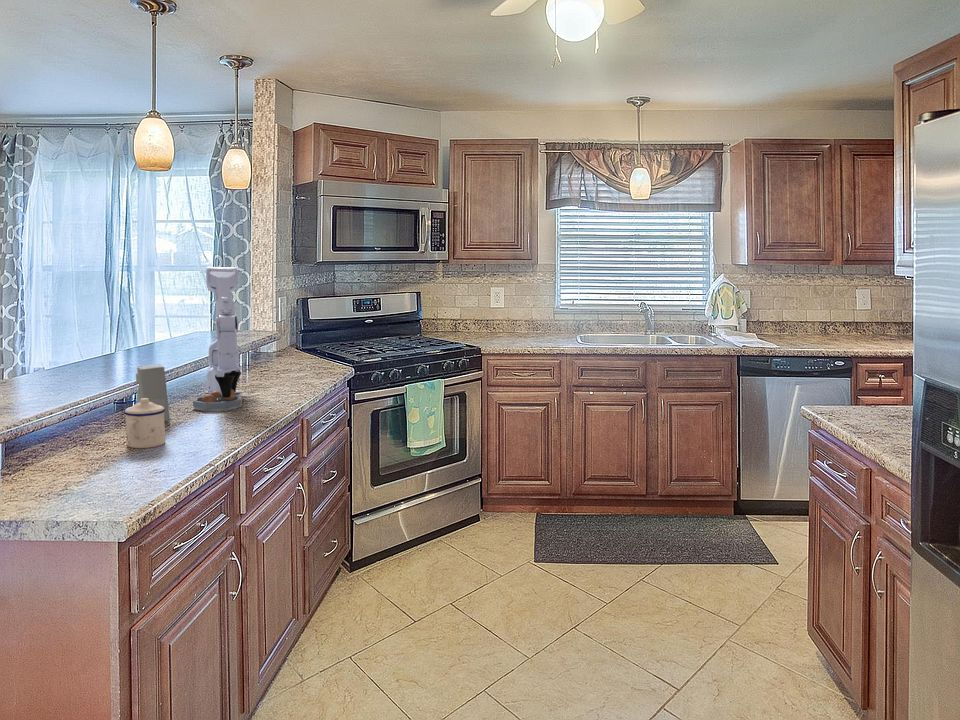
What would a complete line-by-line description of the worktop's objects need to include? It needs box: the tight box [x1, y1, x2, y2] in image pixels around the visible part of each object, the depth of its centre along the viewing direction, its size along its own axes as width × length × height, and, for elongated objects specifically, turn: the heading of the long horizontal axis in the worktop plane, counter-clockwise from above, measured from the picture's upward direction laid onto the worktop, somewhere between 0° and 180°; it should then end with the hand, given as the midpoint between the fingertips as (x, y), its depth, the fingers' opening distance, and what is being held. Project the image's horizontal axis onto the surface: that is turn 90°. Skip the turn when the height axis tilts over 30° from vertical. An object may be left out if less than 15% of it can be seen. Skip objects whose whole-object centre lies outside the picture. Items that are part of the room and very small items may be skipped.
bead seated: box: [202, 393, 215, 403], centre depth 212 cm, size 4×4×4 cm
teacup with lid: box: [123, 398, 166, 449], centre depth 168 cm, size 12×9×12 cm
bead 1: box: [209, 391, 222, 398], centre depth 218 cm, size 4×4×4 cm
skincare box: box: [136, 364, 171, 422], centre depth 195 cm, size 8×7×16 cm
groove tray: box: [192, 394, 243, 412], centre depth 216 cm, size 14×14×3 cm
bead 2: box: [223, 389, 236, 400], centre depth 215 cm, size 4×4×4 cm
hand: (228, 395), depth 215 cm, fingers closed on bead 2, 4 cm apart
